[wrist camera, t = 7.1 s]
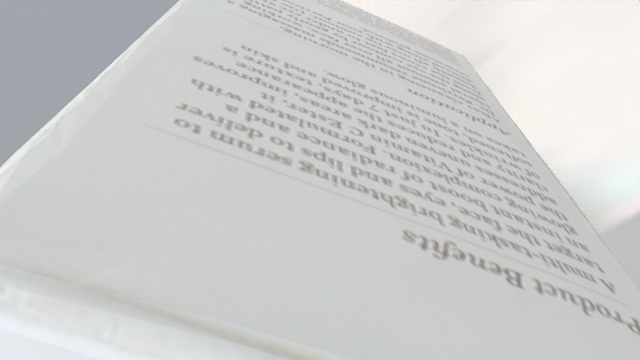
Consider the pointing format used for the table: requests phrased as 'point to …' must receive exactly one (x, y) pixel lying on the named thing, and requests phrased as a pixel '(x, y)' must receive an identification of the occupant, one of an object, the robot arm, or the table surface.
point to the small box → (297, 206)
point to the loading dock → (60, 55)
